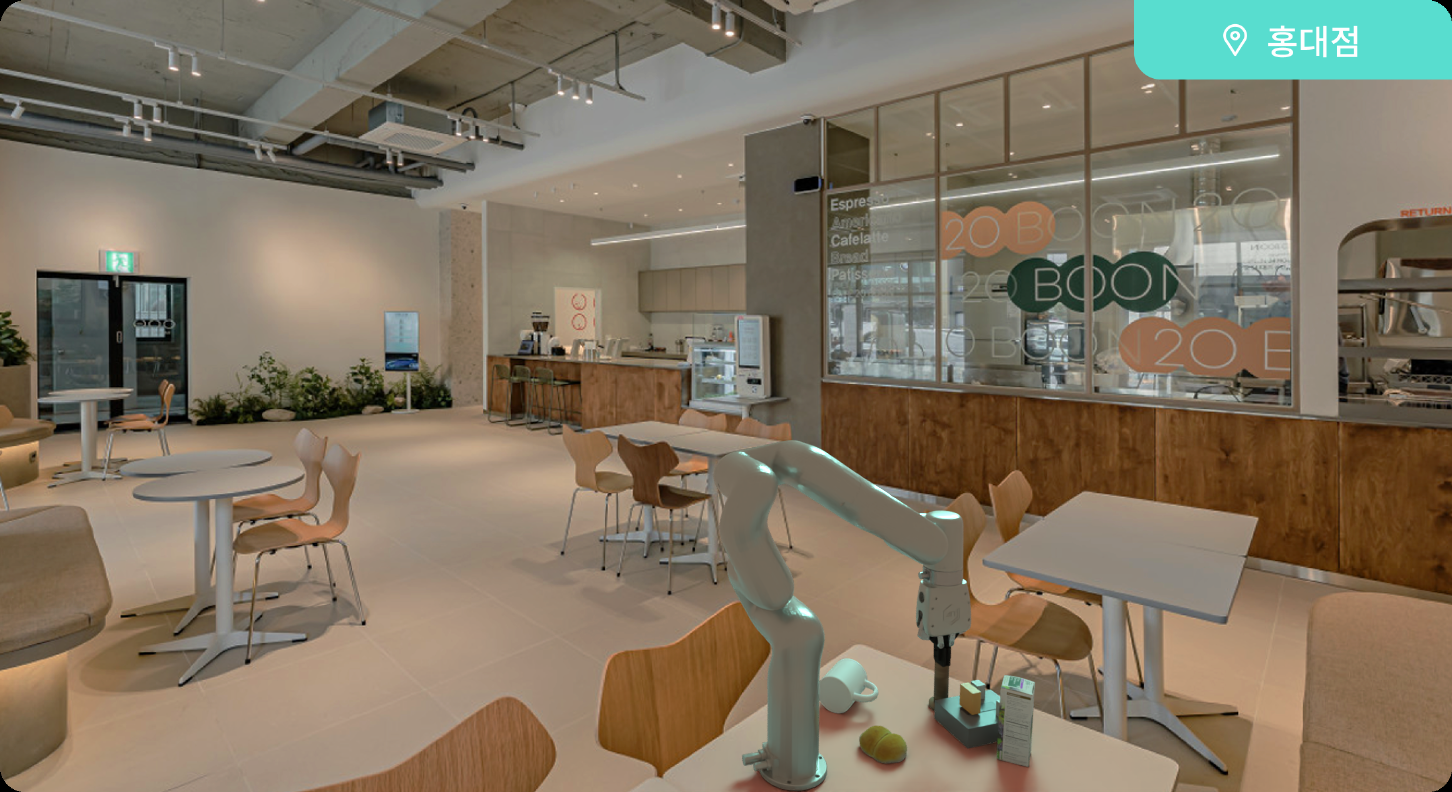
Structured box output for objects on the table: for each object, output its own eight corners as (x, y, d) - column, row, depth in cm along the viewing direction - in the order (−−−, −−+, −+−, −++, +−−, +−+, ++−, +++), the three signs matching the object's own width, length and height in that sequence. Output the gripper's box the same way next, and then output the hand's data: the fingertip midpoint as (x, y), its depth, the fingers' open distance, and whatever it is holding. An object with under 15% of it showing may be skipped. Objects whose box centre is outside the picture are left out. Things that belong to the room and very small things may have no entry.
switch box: (967, 748, 134) (968, 714, 134) (934, 718, 145) (935, 686, 144) (1026, 735, 138) (1027, 702, 138) (990, 707, 149) (991, 676, 148)
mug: (816, 707, 149) (816, 672, 148) (834, 687, 157) (834, 654, 157) (869, 724, 143) (869, 687, 142) (885, 702, 151) (885, 667, 150)
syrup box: (999, 743, 136) (1002, 673, 134) (1032, 752, 133) (1035, 680, 132) (996, 759, 131) (998, 686, 129) (1030, 768, 128) (1033, 694, 127)
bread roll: (890, 771, 128) (891, 751, 127) (852, 749, 134) (852, 730, 134) (916, 753, 133) (917, 733, 133) (878, 733, 140) (878, 714, 139)
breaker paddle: (971, 714, 138) (972, 693, 138) (959, 704, 142) (960, 683, 142) (980, 713, 139) (981, 691, 138) (967, 703, 143) (968, 682, 142)
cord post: (937, 714, 146) (939, 651, 145) (924, 702, 151) (925, 641, 149) (957, 710, 148) (959, 647, 146) (943, 698, 152) (945, 638, 151)
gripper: (920, 586, 130) (920, 679, 131) (987, 576, 134) (986, 665, 136) (899, 573, 137) (899, 661, 139) (963, 563, 141) (962, 649, 143)
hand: (942, 663), depth 137 cm, fingers closed
